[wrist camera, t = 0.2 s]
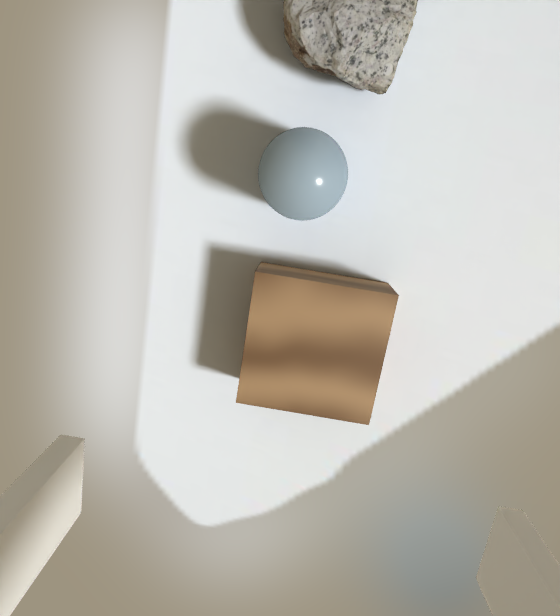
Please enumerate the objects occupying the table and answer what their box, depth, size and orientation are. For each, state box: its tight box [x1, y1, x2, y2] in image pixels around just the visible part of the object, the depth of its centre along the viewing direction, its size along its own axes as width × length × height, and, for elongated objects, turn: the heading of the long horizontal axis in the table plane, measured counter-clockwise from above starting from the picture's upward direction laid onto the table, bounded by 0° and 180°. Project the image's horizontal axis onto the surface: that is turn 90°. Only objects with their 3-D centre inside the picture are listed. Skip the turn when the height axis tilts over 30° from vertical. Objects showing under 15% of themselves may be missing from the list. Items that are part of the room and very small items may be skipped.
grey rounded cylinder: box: [258, 127, 348, 220], centre depth 35 cm, size 6×6×7 cm
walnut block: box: [236, 262, 399, 425], centre depth 39 cm, size 11×11×5 cm
